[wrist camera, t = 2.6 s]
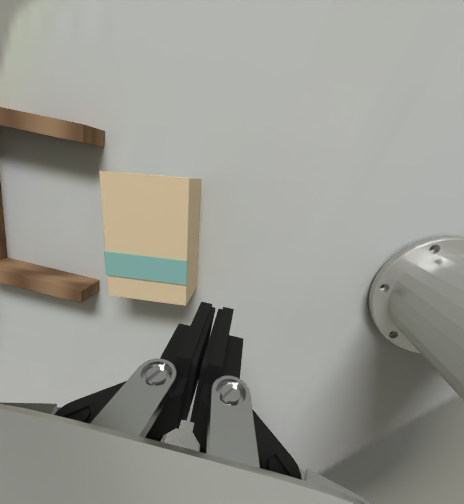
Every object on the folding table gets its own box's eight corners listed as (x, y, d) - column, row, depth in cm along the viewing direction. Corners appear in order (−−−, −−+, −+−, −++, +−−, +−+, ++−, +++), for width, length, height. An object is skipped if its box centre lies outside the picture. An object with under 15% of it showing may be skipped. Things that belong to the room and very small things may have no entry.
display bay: (104, 131, 24) (83, 124, 21) (98, 291, 29) (81, 303, 27) (-20, 105, 25) (-57, 95, 22) (-4, 266, 30) (-31, 275, 27)
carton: (202, 178, 25) (189, 178, 20) (197, 286, 28) (185, 306, 24) (126, 172, 25) (97, 170, 21) (131, 278, 29) (107, 295, 24)
